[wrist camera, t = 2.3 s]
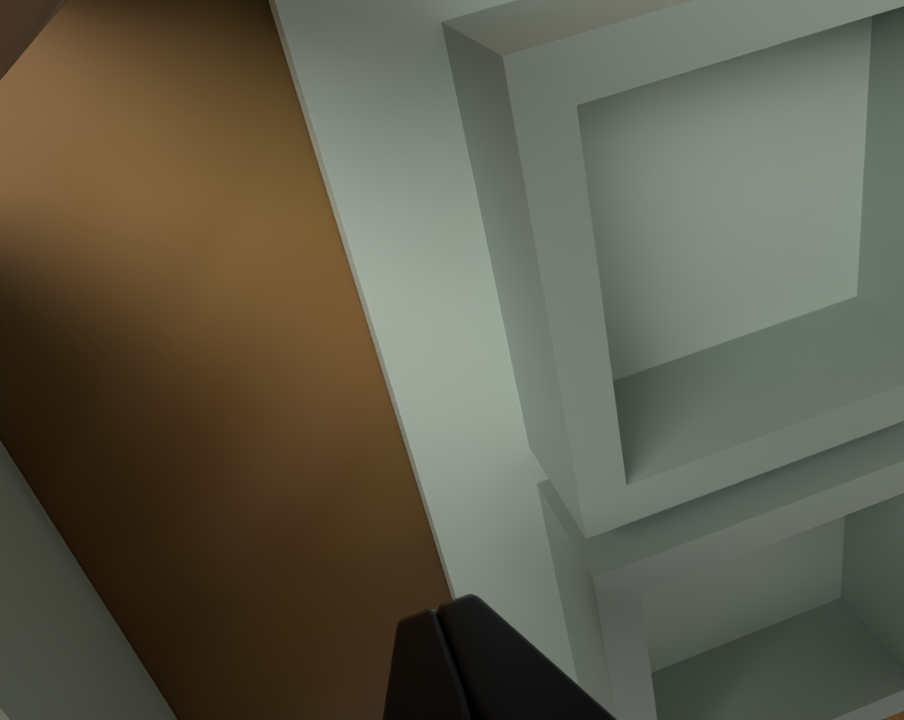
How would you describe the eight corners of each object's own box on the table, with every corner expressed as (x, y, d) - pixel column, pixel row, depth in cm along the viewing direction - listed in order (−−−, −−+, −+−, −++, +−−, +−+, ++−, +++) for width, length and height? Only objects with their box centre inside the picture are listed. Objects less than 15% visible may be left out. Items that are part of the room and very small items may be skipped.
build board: (893, 566, 18) (1020, 689, 15) (491, 725, 17) (550, 887, 14) (974, -230, 10) (1250, -263, 8) (257, -37, 9) (290, 1, 7)
